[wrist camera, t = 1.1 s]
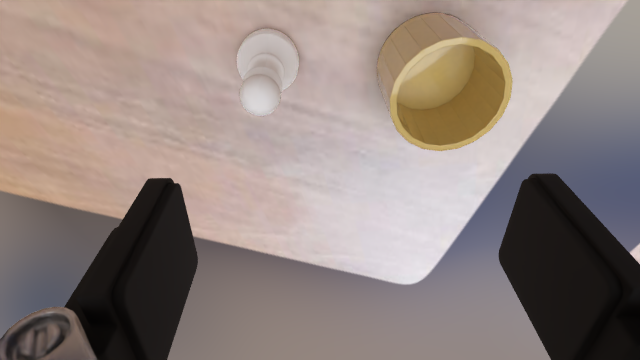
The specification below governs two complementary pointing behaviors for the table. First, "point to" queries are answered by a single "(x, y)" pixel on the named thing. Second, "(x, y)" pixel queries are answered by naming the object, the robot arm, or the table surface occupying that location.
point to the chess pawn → (266, 69)
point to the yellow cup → (442, 82)
